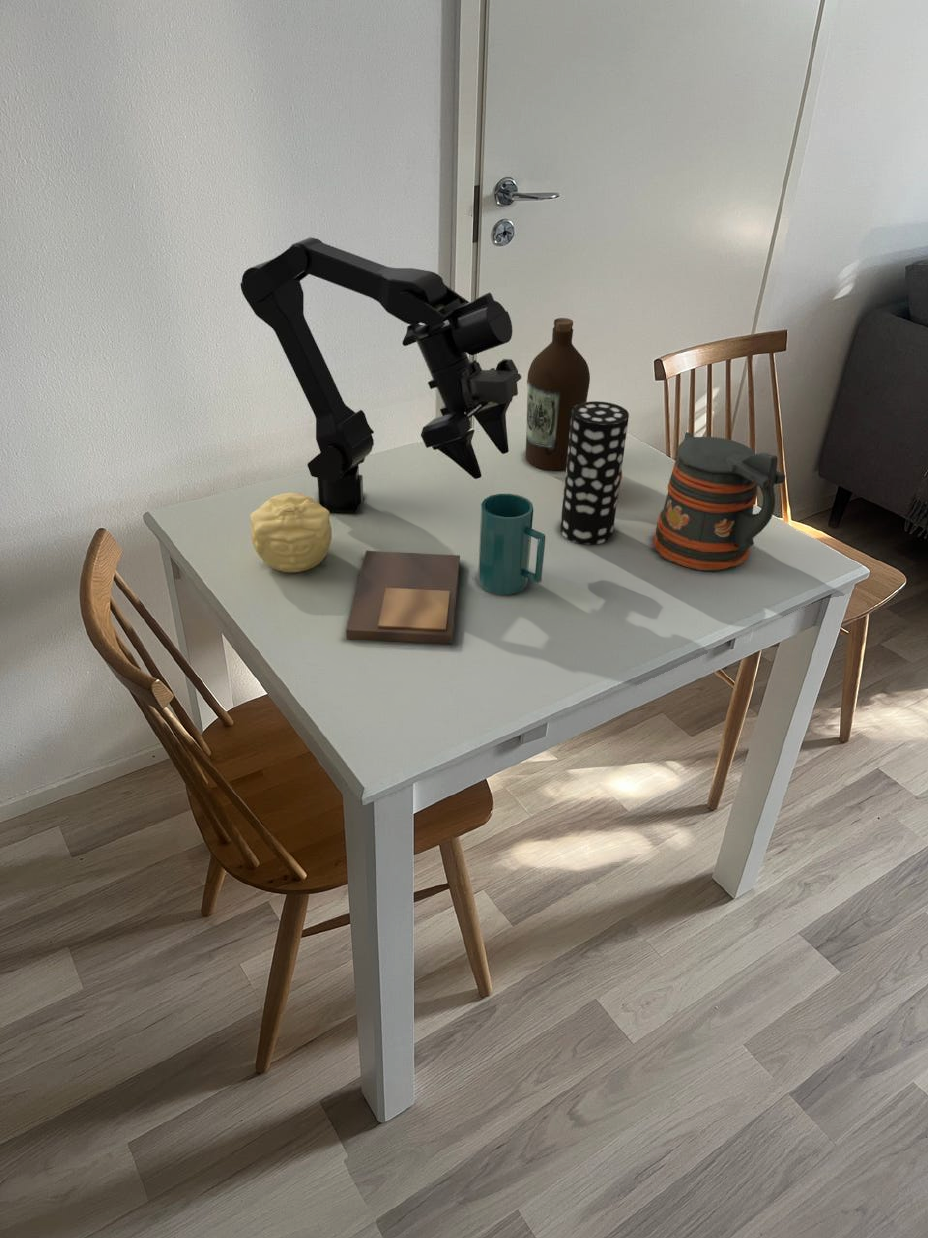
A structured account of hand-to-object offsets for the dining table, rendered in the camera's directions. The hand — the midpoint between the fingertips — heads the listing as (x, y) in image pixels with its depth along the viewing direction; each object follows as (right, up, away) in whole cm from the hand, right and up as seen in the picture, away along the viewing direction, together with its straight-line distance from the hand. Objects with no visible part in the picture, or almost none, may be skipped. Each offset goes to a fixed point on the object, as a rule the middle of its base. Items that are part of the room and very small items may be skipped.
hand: (492, 465), depth 140 cm
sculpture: (-29, -14, +3) cm, 33 cm away
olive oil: (+11, +6, +33) cm, 35 cm away
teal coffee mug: (+3, -18, -1) cm, 18 cm away
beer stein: (+34, -13, +8) cm, 37 cm away
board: (-12, -20, -4) cm, 23 cm away
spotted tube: (+15, -9, +13) cm, 22 cm away
